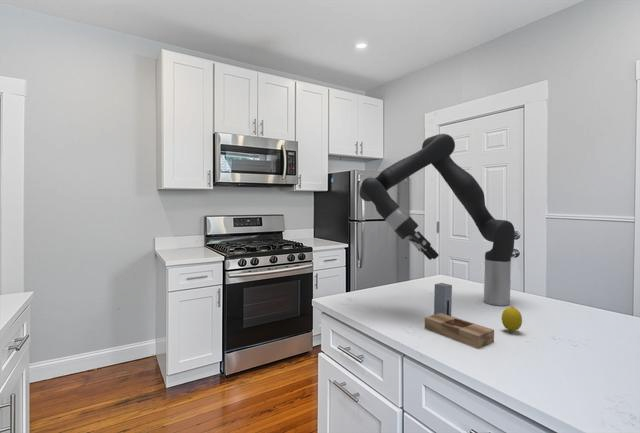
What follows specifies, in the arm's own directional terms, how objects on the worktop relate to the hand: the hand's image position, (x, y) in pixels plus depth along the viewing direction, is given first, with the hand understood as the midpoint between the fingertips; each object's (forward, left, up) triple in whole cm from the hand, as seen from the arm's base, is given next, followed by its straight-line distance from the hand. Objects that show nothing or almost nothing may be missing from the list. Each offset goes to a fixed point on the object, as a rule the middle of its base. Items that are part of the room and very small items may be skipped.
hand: (434, 257), depth 117 cm
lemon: (-10, +21, -21) cm, 32 cm away
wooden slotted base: (+6, +13, -21) cm, 26 cm away
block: (-2, +2, -21) cm, 21 cm away
